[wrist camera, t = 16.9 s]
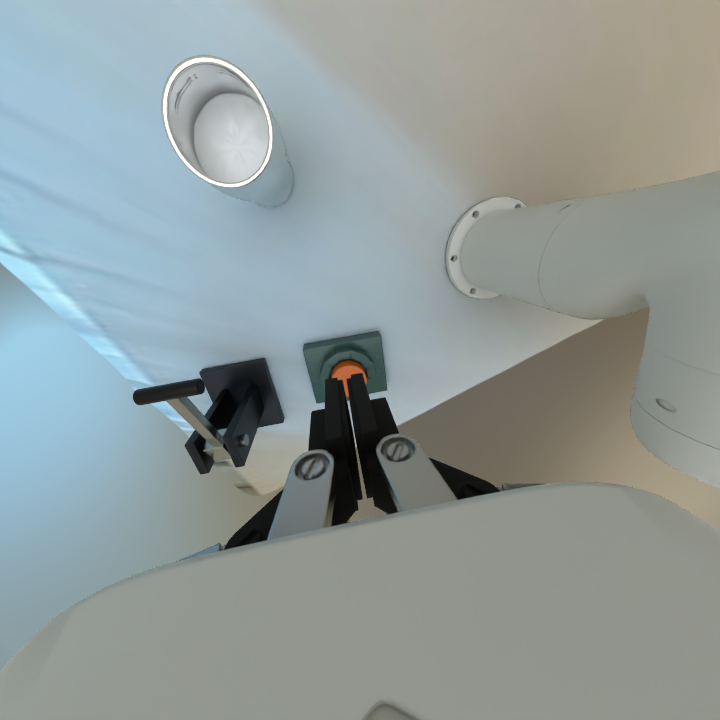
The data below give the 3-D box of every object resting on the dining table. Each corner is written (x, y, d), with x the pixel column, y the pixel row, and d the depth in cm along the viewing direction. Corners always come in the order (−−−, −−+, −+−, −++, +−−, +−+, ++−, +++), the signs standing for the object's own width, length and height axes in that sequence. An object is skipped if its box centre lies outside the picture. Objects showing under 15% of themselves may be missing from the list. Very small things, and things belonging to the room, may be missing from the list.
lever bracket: (202, 368, 39) (150, 424, 27) (264, 357, 39) (239, 407, 28) (229, 428, 43) (194, 498, 32) (284, 418, 44) (270, 482, 32)
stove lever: (139, 382, 24) (127, 403, 23) (200, 371, 25) (192, 391, 23) (205, 445, 33) (200, 464, 31) (250, 437, 33) (247, 455, 32)
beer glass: (310, 189, 31) (298, 151, 18) (262, 224, 32) (217, 213, 19) (270, 122, 28) (221, 17, 15) (219, 163, 29) (129, 99, 16)
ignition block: (378, 330, 40) (383, 340, 36) (384, 383, 43) (389, 396, 40) (303, 344, 39) (301, 354, 35) (317, 396, 43) (316, 410, 39)
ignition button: (362, 357, 37) (364, 362, 35) (367, 386, 39) (368, 393, 37) (328, 363, 37) (328, 369, 35) (334, 393, 39) (334, 399, 37)
